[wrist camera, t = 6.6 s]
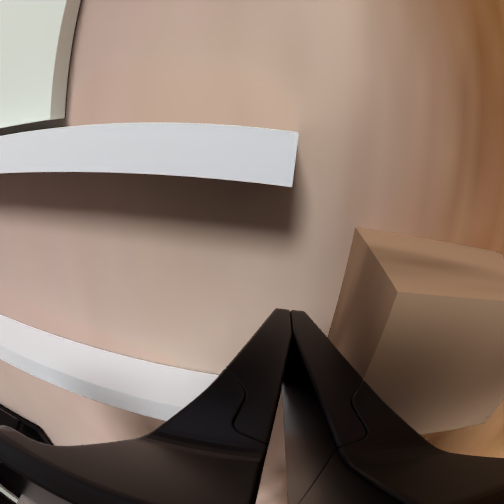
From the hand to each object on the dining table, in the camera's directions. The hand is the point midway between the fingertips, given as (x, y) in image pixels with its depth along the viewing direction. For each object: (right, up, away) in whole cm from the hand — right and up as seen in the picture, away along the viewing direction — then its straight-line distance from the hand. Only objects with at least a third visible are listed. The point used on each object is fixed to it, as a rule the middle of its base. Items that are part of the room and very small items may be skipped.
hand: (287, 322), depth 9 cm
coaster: (-11, +11, -2) cm, 15 cm away
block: (+5, 0, +1) cm, 5 cm away
